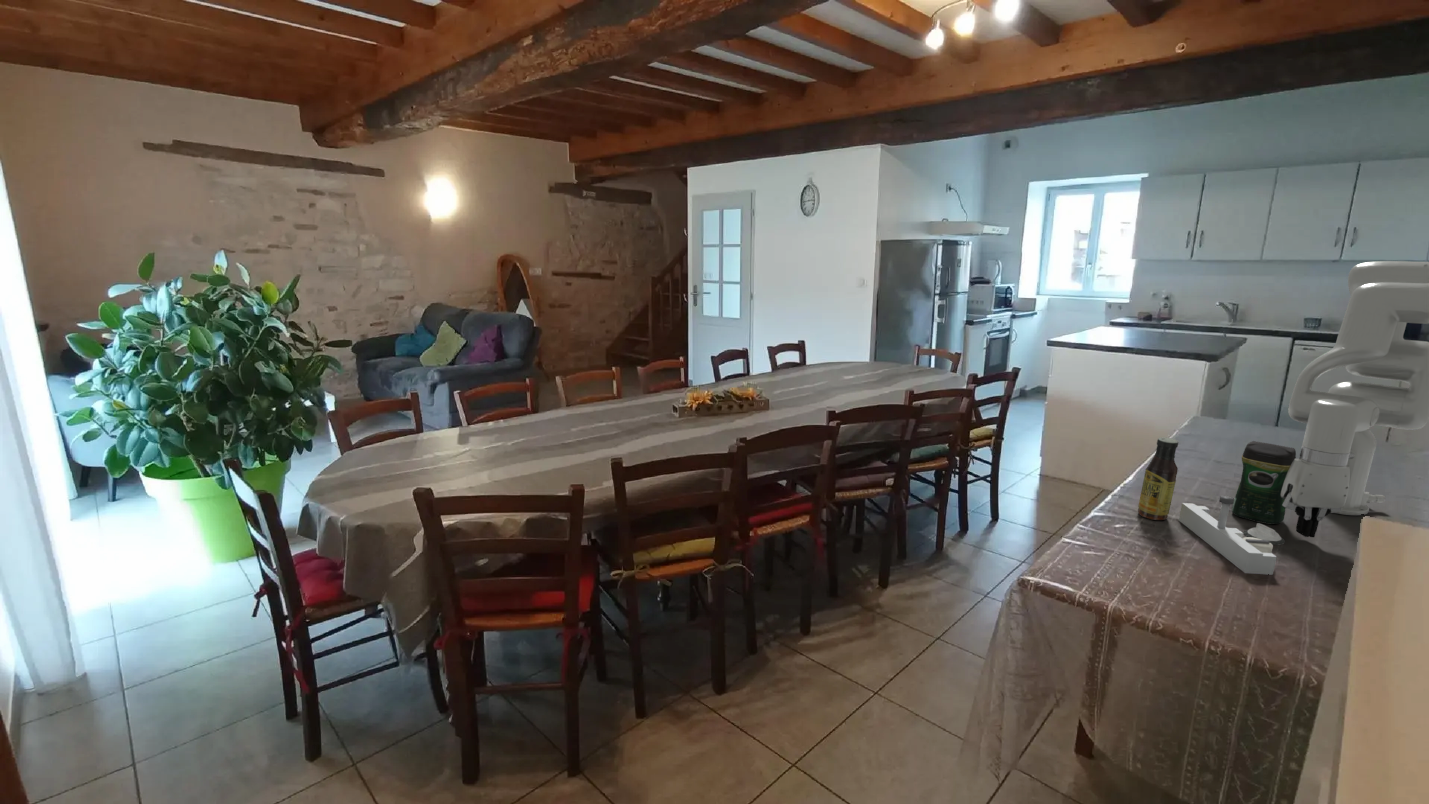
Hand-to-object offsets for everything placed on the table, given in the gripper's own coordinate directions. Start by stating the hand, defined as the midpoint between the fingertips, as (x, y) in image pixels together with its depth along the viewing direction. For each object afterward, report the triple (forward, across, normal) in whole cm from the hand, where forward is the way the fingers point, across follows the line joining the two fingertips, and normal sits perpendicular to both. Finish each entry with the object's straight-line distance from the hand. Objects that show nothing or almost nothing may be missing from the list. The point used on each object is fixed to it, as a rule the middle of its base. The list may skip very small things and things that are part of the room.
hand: (1304, 534), depth 141 cm
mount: (+2, +19, +5) cm, 20 cm away
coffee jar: (+2, +3, -12) cm, 12 cm away
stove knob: (+2, +8, 0) cm, 8 cm away
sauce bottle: (+2, +27, -9) cm, 28 cm away
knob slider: (+2, +17, +12) cm, 21 cm away
